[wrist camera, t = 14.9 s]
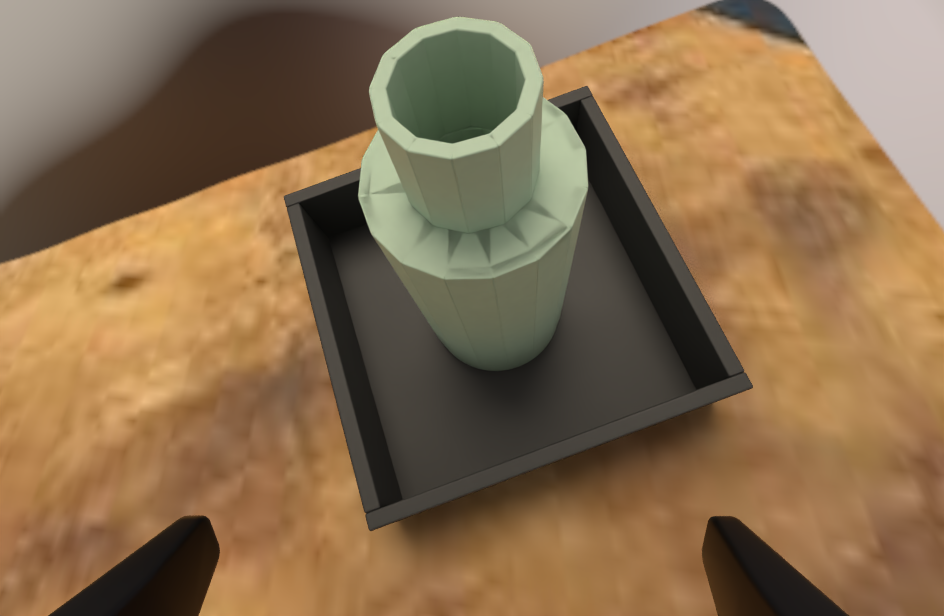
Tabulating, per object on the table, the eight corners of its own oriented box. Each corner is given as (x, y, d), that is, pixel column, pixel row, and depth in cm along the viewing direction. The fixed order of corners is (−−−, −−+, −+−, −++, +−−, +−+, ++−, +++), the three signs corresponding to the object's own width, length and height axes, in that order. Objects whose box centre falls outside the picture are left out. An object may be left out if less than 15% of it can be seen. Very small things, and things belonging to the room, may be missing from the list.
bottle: (585, 308, 22) (671, 70, 9) (495, 398, 22) (447, 278, 8) (496, 230, 24) (459, -67, 11) (409, 311, 23) (254, 95, 10)
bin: (713, 402, 21) (754, 387, 17) (397, 521, 21) (368, 531, 17) (578, 141, 26) (587, 84, 22) (318, 236, 26) (283, 195, 22)
